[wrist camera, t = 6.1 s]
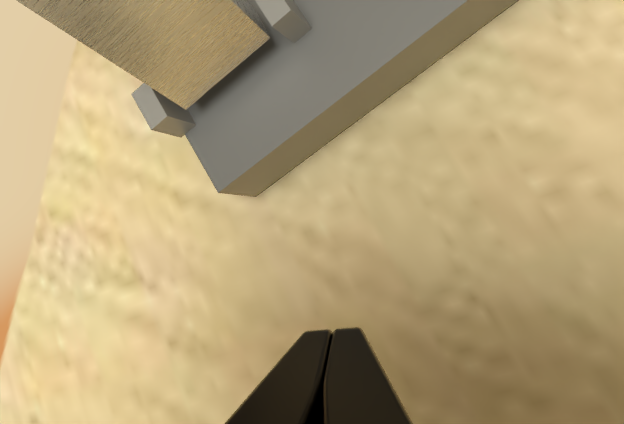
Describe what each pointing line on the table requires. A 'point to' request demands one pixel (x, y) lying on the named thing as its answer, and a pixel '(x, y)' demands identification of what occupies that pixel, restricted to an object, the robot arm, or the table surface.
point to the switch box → (311, 81)
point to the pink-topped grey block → (163, 38)
